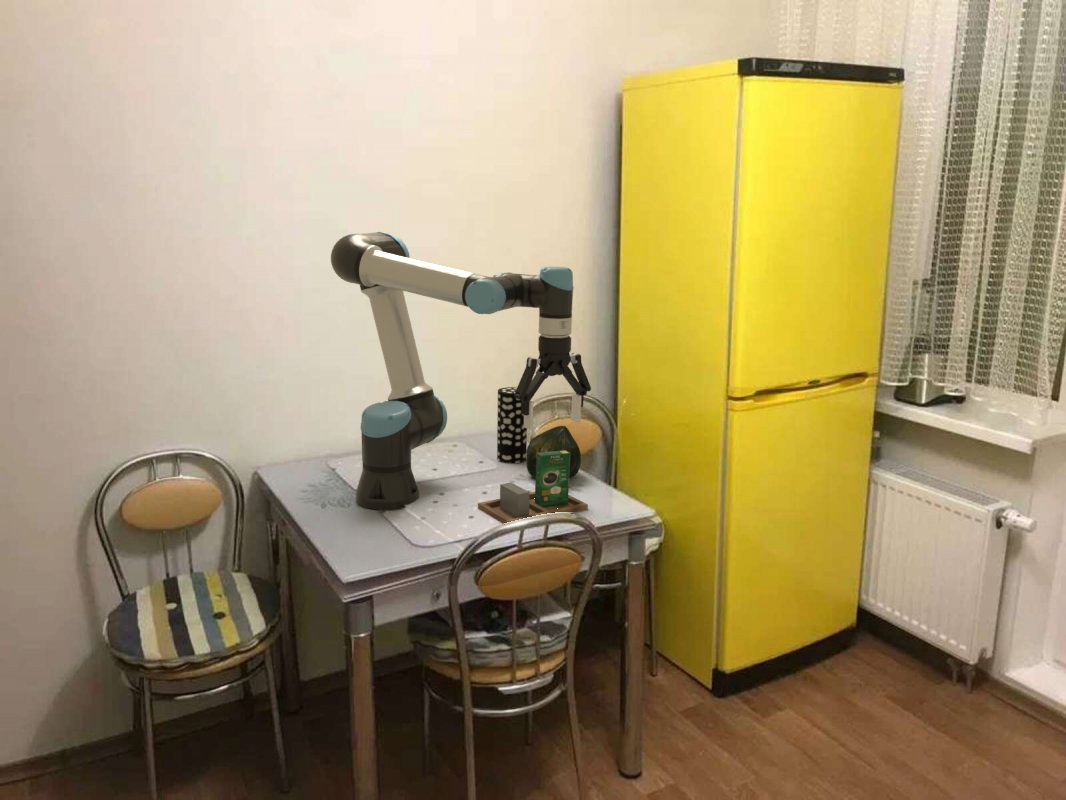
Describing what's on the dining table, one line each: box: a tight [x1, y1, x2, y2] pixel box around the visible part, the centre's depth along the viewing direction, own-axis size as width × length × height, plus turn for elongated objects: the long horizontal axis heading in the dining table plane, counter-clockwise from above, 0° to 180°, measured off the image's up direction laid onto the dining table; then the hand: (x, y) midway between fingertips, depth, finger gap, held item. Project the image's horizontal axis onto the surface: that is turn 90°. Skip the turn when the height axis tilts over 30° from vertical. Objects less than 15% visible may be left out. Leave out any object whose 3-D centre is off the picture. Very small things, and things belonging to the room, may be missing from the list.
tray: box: [477, 491, 589, 524], centre depth 203 cm, size 22×14×2 cm, turn 124°
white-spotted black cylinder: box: [496, 386, 528, 464], centre depth 242 cm, size 8×8×20 cm
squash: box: [526, 425, 582, 479], centre depth 228 cm, size 14×15×15 cm
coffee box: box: [534, 450, 570, 507], centre depth 205 cm, size 8×3×13 cm, turn 115°
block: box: [499, 482, 530, 518], centre depth 200 cm, size 3×8×6 cm, turn 34°
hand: (552, 424), depth 202 cm, fingers open, 13 cm apart
